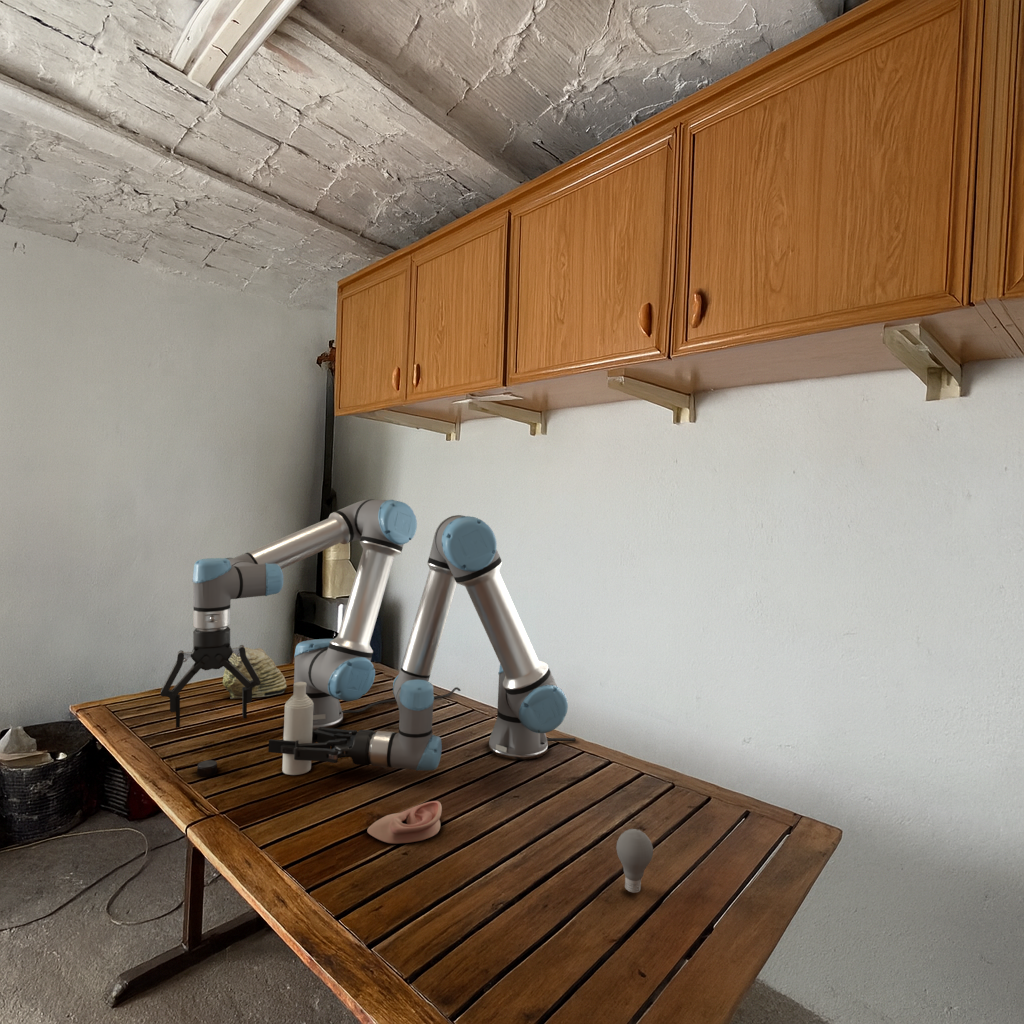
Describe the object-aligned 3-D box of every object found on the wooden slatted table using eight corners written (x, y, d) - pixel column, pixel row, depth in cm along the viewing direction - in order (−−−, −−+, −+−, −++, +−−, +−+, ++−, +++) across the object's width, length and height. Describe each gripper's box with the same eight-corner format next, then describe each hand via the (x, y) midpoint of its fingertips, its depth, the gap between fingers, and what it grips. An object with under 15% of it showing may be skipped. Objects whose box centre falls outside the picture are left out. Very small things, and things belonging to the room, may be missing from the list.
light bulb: (610, 879, 108) (613, 822, 108) (644, 879, 109) (647, 822, 109) (619, 902, 102) (622, 840, 102) (655, 901, 103) (658, 840, 103)
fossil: (218, 695, 195) (220, 647, 195) (278, 685, 208) (279, 640, 207) (228, 703, 189) (230, 653, 188) (289, 692, 201) (290, 645, 201)
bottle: (303, 776, 143) (306, 688, 143) (277, 773, 144) (280, 686, 144) (315, 764, 149) (319, 680, 149) (290, 762, 150) (293, 678, 150)
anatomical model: (360, 817, 118) (385, 790, 129) (359, 839, 118) (384, 809, 129) (428, 828, 115) (447, 799, 126) (427, 850, 115) (446, 819, 126)
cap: (217, 768, 145) (218, 759, 145) (215, 775, 141) (216, 766, 141) (198, 769, 144) (198, 761, 144) (195, 777, 140) (196, 768, 140)
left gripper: (146, 636, 133) (147, 735, 134) (272, 626, 144) (272, 718, 145) (149, 628, 140) (149, 723, 141) (269, 620, 151) (268, 707, 152)
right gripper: (358, 783, 135) (255, 773, 137) (385, 748, 154) (294, 740, 157) (359, 748, 135) (256, 739, 137) (386, 717, 154) (295, 710, 157)
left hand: (211, 721), depth 143 cm, fingers open, 13 cm apart
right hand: (276, 739), depth 147 cm, fingers closed on bottle, 6 cm apart
